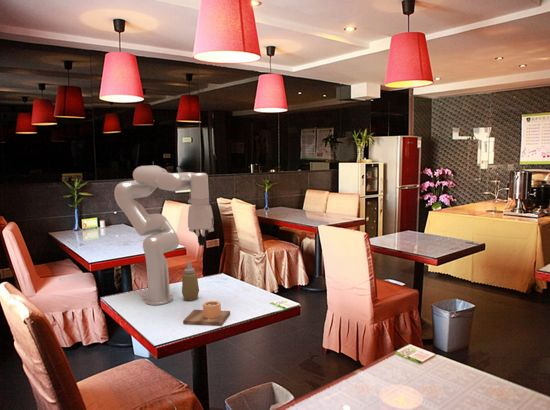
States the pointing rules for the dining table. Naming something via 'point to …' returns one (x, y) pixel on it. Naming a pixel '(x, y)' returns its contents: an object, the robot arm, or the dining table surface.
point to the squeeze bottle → (190, 283)
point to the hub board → (198, 318)
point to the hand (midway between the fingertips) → (202, 244)
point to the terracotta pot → (211, 309)
